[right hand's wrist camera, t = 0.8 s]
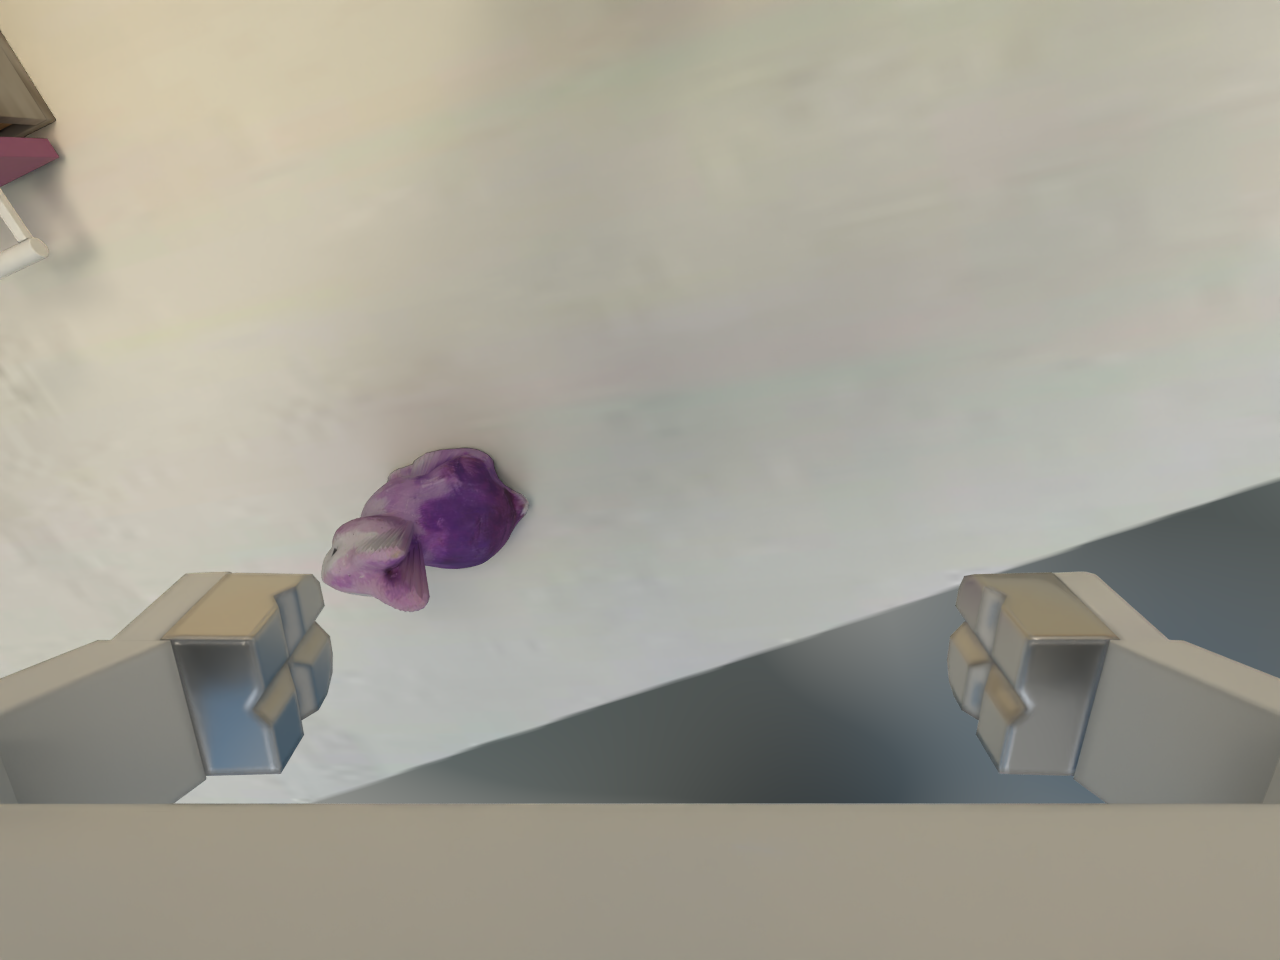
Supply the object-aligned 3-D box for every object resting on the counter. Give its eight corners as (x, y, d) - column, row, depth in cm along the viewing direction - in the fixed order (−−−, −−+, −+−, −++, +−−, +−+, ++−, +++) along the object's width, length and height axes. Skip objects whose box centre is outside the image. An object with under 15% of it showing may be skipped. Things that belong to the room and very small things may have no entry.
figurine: (356, 502, 59) (269, 606, 45) (442, 410, 57) (378, 491, 43) (452, 580, 62) (398, 701, 48) (540, 496, 59) (509, 598, 45)
